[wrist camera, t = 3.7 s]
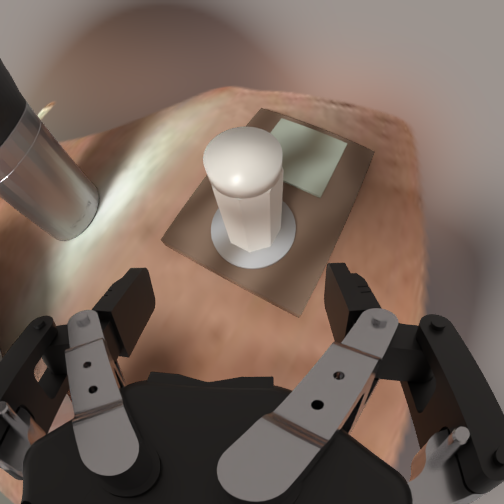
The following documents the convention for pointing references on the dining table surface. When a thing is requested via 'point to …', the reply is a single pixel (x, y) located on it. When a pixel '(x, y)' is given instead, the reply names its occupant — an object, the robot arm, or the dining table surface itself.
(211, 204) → the post board
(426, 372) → the robot arm
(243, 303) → the dining table surface
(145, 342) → the dining table surface
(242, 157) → the salt shaker
